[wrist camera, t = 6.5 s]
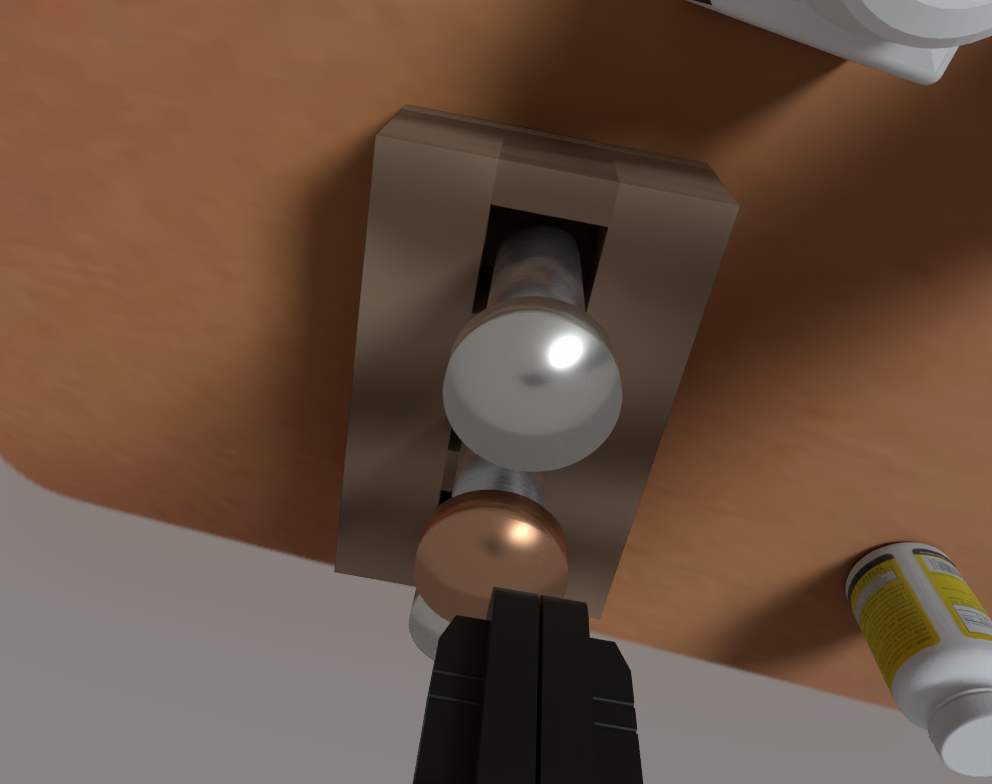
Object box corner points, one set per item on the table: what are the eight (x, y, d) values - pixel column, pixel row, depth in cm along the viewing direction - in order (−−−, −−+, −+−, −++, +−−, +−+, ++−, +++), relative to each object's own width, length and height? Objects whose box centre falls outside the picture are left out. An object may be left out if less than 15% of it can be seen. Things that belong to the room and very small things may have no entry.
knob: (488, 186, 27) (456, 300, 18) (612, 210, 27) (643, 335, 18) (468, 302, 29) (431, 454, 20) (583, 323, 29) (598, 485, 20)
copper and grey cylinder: (462, 340, 29) (423, 503, 21) (574, 360, 30) (583, 531, 21) (445, 434, 32) (405, 618, 23) (550, 453, 32) (550, 644, 23)
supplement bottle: (843, 622, 42) (919, 793, 33) (841, 546, 39) (922, 710, 30) (951, 609, 41) (1057, 782, 32) (955, 530, 38) (1071, 695, 30)
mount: (406, 104, 30) (375, 135, 25) (707, 163, 30) (740, 205, 25) (363, 490, 39) (334, 572, 34) (593, 532, 40) (599, 618, 34)
